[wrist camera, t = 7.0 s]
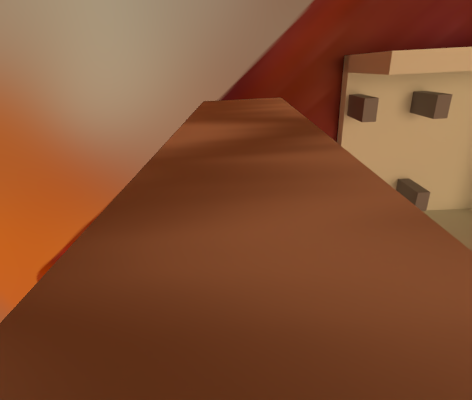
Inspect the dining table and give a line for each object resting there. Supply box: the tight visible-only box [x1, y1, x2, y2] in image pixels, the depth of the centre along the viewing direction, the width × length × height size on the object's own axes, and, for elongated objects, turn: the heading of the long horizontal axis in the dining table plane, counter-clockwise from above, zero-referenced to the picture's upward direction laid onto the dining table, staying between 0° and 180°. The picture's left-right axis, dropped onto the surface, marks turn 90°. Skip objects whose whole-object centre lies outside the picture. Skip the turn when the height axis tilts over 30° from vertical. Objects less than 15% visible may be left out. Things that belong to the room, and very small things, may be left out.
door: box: [0, 98, 472, 400], centre depth 10 cm, size 5×14×14 cm, turn 3°
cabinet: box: [337, 47, 472, 251], centre depth 29 cm, size 17×18×10 cm
